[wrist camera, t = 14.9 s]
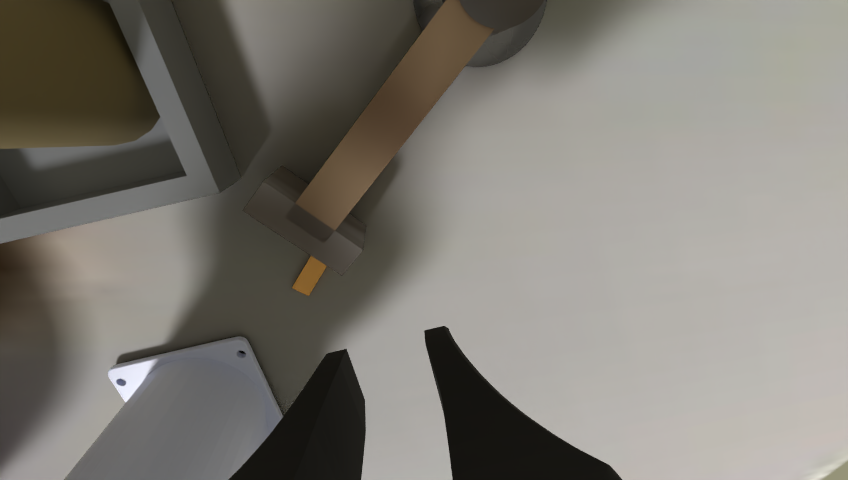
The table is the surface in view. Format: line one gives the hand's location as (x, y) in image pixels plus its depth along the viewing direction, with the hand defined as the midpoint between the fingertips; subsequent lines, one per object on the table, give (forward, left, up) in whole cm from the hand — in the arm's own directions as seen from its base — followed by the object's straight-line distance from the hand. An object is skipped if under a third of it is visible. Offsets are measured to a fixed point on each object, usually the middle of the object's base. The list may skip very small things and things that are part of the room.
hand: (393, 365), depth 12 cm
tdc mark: (-1, +5, -10) cm, 11 cm away
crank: (+7, -2, -10) cm, 12 cm away
